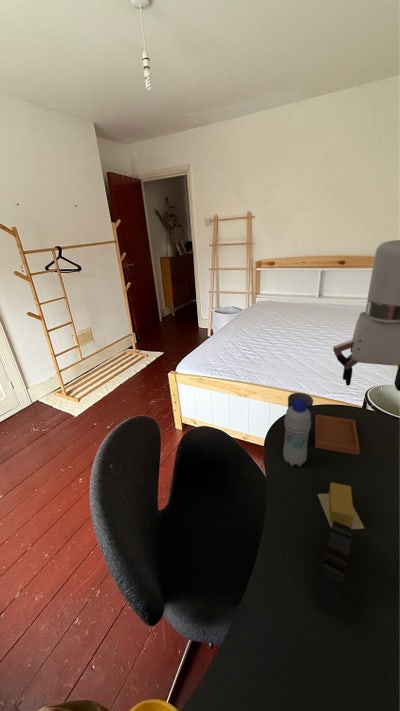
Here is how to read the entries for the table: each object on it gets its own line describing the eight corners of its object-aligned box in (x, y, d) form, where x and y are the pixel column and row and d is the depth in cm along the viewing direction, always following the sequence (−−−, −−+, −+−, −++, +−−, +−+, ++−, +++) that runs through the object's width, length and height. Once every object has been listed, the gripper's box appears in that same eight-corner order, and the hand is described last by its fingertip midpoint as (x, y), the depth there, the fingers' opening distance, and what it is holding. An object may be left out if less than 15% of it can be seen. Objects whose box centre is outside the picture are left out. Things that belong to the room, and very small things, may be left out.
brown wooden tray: (315, 419, 99) (315, 414, 98) (353, 425, 95) (354, 420, 94) (314, 447, 87) (315, 442, 87) (358, 455, 84) (359, 449, 83)
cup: (285, 446, 89) (288, 405, 82) (285, 431, 94) (287, 391, 88) (309, 449, 87) (314, 407, 80) (307, 433, 93) (312, 393, 86)
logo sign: (332, 527, 66) (338, 492, 61) (349, 534, 64) (357, 498, 59) (313, 613, 52) (320, 577, 47) (335, 625, 50) (344, 589, 45)
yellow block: (328, 493, 73) (330, 482, 71) (348, 497, 71) (350, 486, 70) (329, 522, 66) (331, 510, 64) (351, 528, 65) (354, 516, 63)
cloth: (346, 493, 73) (346, 492, 73) (364, 528, 65) (364, 527, 65) (317, 494, 73) (317, 494, 73) (331, 530, 65) (331, 529, 65)
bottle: (309, 456, 85) (316, 397, 76) (303, 472, 79) (310, 412, 71) (285, 448, 88) (289, 391, 79) (278, 464, 83) (282, 405, 74)
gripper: (435, 304, 57) (414, 380, 65) (337, 302, 63) (328, 372, 71) (449, 317, 51) (424, 400, 59) (339, 313, 57) (329, 389, 64)
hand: (371, 385), depth 65 cm, fingers open, 9 cm apart
